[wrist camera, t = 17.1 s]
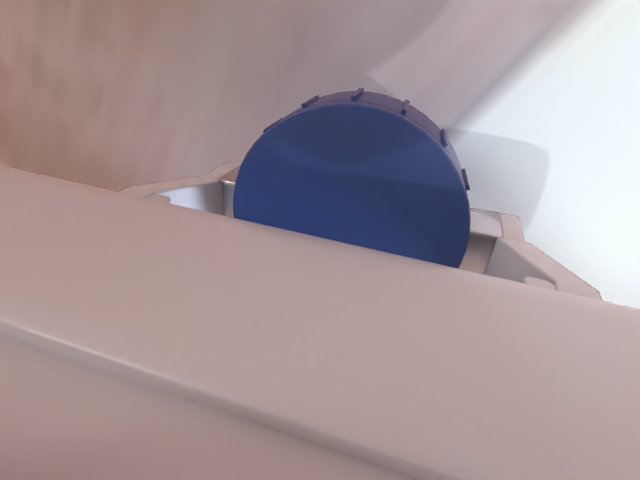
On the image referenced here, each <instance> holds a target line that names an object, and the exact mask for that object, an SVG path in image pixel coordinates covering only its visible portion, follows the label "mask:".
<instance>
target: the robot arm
mask: <svg viewBox="0 0 640 480" xmlns="http://www.w3.org/2000/svg"><path fill="white" fill-rule="evenodd" d="M240 166H241V164H240V163H234V162H229V161H228V162H226V163H224V164H223V165H221V166H219V167H218V168H216V169H215V170H213V171H211V172H210V173H208V174H207V175H205V176H203V177H200V176H196V177H189V178H183V179H176V180H170V181H163V182H157V183H150V184H144V185H137V186H131V187H127V188H125V189H123V190H121V191H119V192H117V191H113V190H108V189H104V188H99V187H95V186H90V185H86V184H82V183H77V182H73V181H68V180H64V179H60V178H55V177H51V176H46V175H42V174H37V173H33V172H29V171H24V170H20V169H15V168H11V167H6V166H2V165H0V480H640V309H636V308H631V307H627V306H622V305H618V304H613V303H609V302H605V301H603V300H602V298H601V296H600V293H599V291H597V290H596V289H595V288H593V287H592V286H590V285H589V284H587V283H586V282H585V281H583V280H582V279H580V278H579V277H577V276H576V275H575V274H573V273H572V272H570V271H569V270H568V269H566V268H565V267H563V266H562V265H560V264H559V263H558V262H556V261H555V260H553V259H552V258H550V257H549V256H548V255H546V254H545V253H543V252H542V251H540V250H539V249H538V248H536V247H535V246H533V245H532V244H529V243H525V239H524V235H523V231H522V227H521V223H520V219H519V217H518V216H513V215H507V214H501V213H498V212H492V211H486V210H480V209H474V208H470V218H471V222H470V231H471V233H470V236H469V241H468V245H467V250H466V252H465V255H464V258H463V260H462V263H461V265H460V266H459V268H454V267H450V266H445V265H441V264H436V263H432V262H427V261H423V260H419V259H414V258H410V257H405V256H401V255H396V254H392V253H388V252H383V251H379V250H374V249H370V248H365V247H361V246H356V245H352V244H348V243H343V242H339V241H334V240H330V239H325V238H321V237H316V236H312V235H308V234H303V233H299V232H294V231H290V230H285V229H281V228H276V227H272V226H268V225H263V224H259V223H254V222H250V221H245V220H241V219H237V218H234V217H233V192H234V187H235V181H236V178H237V175H238V172H239V169H240Z"/></svg>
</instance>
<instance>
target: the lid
mask: <svg viewBox="0 0 640 480" xmlns="http://www.w3.org/2000/svg"><path fill="white" fill-rule="evenodd" d="M409 103H410V101H408V100H405V102H403V101H401V100H399V99H396V98H393V97H390V96H387V95H383V94H378V93H373V92H364V88H359V89H358V90H357V91H350V92H339V93H335V94H331V95H326V96H323V97H321V98H319V96H318V95H317V96H314V97H313V98H311V99H310V100H308V101H306V102H305V103H303V104H302V105H301V106H302V107H300V108H299V109H297V110H295V111H294V112H292V113H291V114H289V115H288V116H286V117H285V118H283V119H282V118H281V119H280V120H278V121H277V122H275V123H273V124H272V125H270V126H269V127H267V128H266V129H265V130H264V131H263V132H264V133H263V134H262V135H261V136H260V138H259V139H258V140H257V141H256V142H255V143H254V144H253V146H252V147H251V149H250V150H249V151H248V153H247V154H246V156H245V158H244V160H243V162H242V164H241V166H240V169H239V172H238V175H237V178H236V181H235V187H234V192H233V217H234V218H237V219H241V220H245V221H250V222H254V223H259V224H263V225H268V226H272V227H276V228H281V229H285V230H290V231H294V232H299V233H303V234H308V235H312V236H316V237H321V238H325V239H330V240H334V241H339V242H343V243H348V244H352V245H356V246H361V247H365V248H370V249H374V250H379V251H383V252H388V253H392V254H396V255H401V256H405V257H410V258H414V259H419V260H423V261H427V262H432V263H436V264H441V265H445V266H450V267H454V268H459V266H460V265H461V263H462V260H463V258H464V255H465V252H466V250H467V245H468V241H469V236H470V233H471V231H470V222H471V218H470V207H469V201H468V196H467V192H466V191H467V190H470V188H469V184H468V180H467V175H466V171H465V169H462V170H461V166H460V163H459V160H458V158H457V156H456V153H455V151H454V149H453V147H452V146H451V144H450V142H449V141H448V139H447V134H446V131H445V130H444V129H442V130H440V129H439V128H438V126H437V125H436V124H435V123H433V122H432V121H431V120H430V119H429V118H428V117H427V116H426V115H424V114H423V113H422V112H420V111H419V110H417V109H416V108H414V107H413V106H411V105H409Z"/></svg>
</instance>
